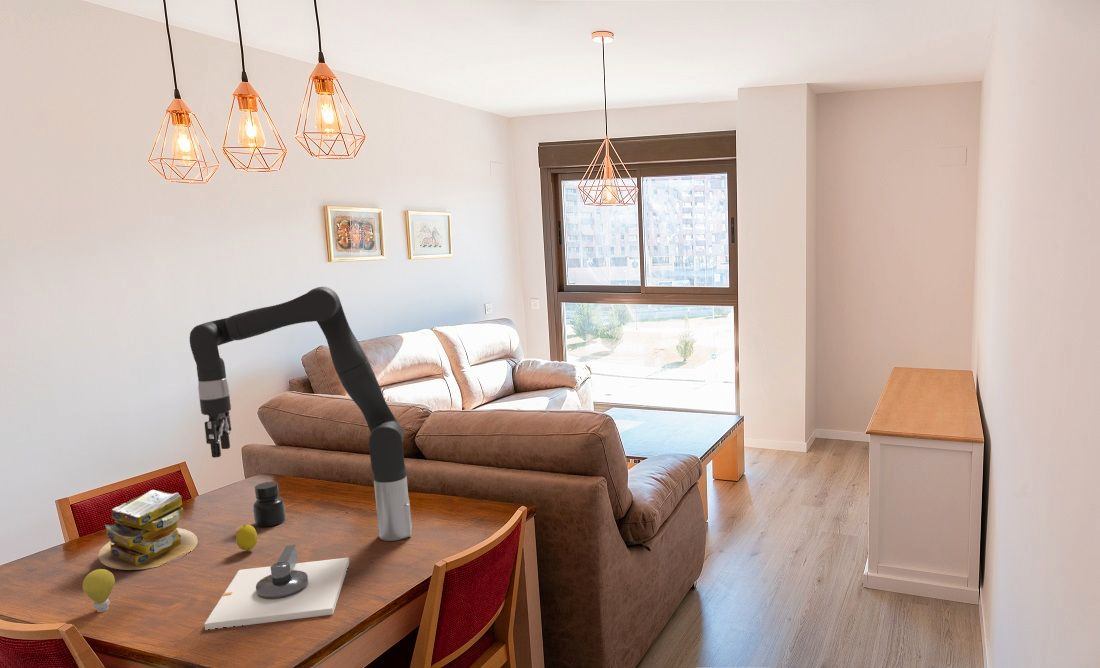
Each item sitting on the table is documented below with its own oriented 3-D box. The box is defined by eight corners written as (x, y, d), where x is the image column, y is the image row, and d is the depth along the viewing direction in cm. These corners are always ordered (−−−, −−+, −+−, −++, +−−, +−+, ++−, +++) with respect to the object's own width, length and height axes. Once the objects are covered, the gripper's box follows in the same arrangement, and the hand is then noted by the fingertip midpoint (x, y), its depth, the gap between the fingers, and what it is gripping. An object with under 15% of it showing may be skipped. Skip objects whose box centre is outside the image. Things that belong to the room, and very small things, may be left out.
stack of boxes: (214, 545, 215) (207, 490, 213) (126, 580, 195) (117, 519, 193) (170, 530, 230) (163, 478, 227) (83, 561, 209) (75, 505, 207)
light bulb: (95, 604, 182) (89, 565, 181) (123, 601, 183) (118, 563, 182) (80, 617, 176) (74, 578, 174) (110, 615, 176) (104, 575, 175)
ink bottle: (279, 514, 237) (275, 478, 236) (291, 520, 231) (287, 483, 230) (249, 523, 231) (244, 486, 229) (261, 530, 224) (256, 492, 223)
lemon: (251, 555, 206) (248, 528, 205) (233, 555, 207) (230, 527, 206) (262, 547, 211) (259, 520, 210) (245, 547, 212) (242, 520, 211)
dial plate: (349, 562, 197) (348, 556, 197) (333, 614, 170) (332, 607, 169) (239, 575, 194) (239, 569, 193) (205, 630, 166) (204, 623, 166)
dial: (303, 595, 176) (300, 573, 176) (250, 601, 175) (248, 579, 174) (316, 562, 194) (314, 542, 194) (269, 568, 193) (267, 547, 192)
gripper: (220, 399, 196) (228, 458, 198) (235, 389, 210) (242, 444, 212) (191, 402, 195) (198, 461, 197) (208, 391, 209) (215, 447, 211)
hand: (221, 452), depth 205 cm, fingers open, 8 cm apart
